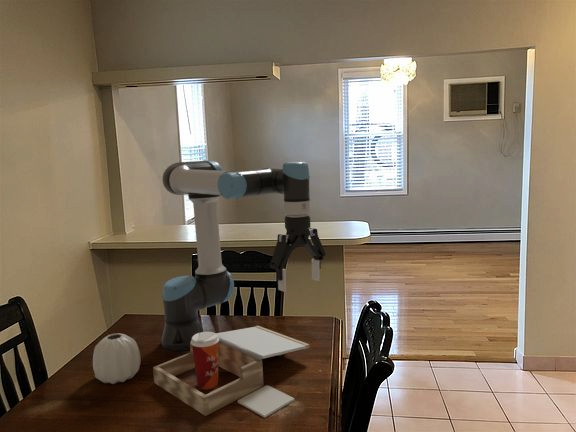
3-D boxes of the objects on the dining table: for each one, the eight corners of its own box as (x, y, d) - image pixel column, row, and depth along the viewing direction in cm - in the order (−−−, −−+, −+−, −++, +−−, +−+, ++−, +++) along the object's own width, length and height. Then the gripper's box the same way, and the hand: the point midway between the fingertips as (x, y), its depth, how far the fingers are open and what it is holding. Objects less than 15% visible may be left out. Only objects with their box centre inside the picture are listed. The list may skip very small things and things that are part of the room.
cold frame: (154, 382, 140) (152, 357, 139) (210, 359, 154) (208, 336, 153) (205, 416, 121) (203, 387, 120) (263, 385, 136) (262, 359, 134)
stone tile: (237, 402, 127) (237, 400, 127) (267, 386, 135) (267, 384, 135) (264, 417, 120) (264, 415, 119) (294, 400, 127) (294, 398, 127)
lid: (207, 348, 153) (206, 334, 152) (257, 328, 168) (257, 315, 167) (259, 373, 135) (258, 356, 134) (310, 348, 150) (309, 333, 149)
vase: (128, 363, 154) (125, 324, 152) (149, 376, 144) (145, 335, 142) (86, 378, 144) (82, 337, 142) (105, 394, 135) (101, 350, 133)
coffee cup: (216, 392, 133) (212, 342, 131) (189, 390, 135) (185, 341, 132) (225, 378, 141) (222, 331, 139) (200, 376, 143) (197, 330, 140)
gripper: (272, 222, 125) (275, 298, 128) (336, 211, 141) (337, 278, 144) (255, 219, 131) (258, 292, 134) (318, 209, 147) (320, 274, 150)
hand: (299, 285), depth 139 cm, fingers open, 13 cm apart
